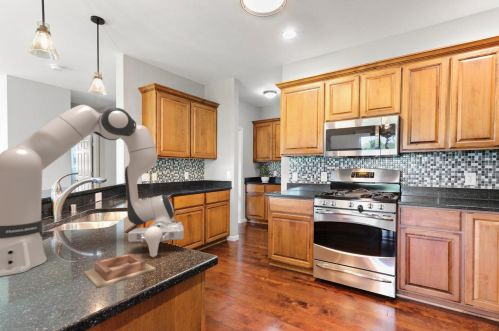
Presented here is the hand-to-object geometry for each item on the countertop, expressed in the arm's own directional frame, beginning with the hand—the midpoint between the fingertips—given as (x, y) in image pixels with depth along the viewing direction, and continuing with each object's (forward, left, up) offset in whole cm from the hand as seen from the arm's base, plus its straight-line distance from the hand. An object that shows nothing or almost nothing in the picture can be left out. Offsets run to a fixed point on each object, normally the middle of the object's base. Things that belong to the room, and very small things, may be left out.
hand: (152, 239), depth 89 cm
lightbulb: (+1, +1, -7) cm, 7 cm away
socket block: (-12, -4, -7) cm, 15 cm away
